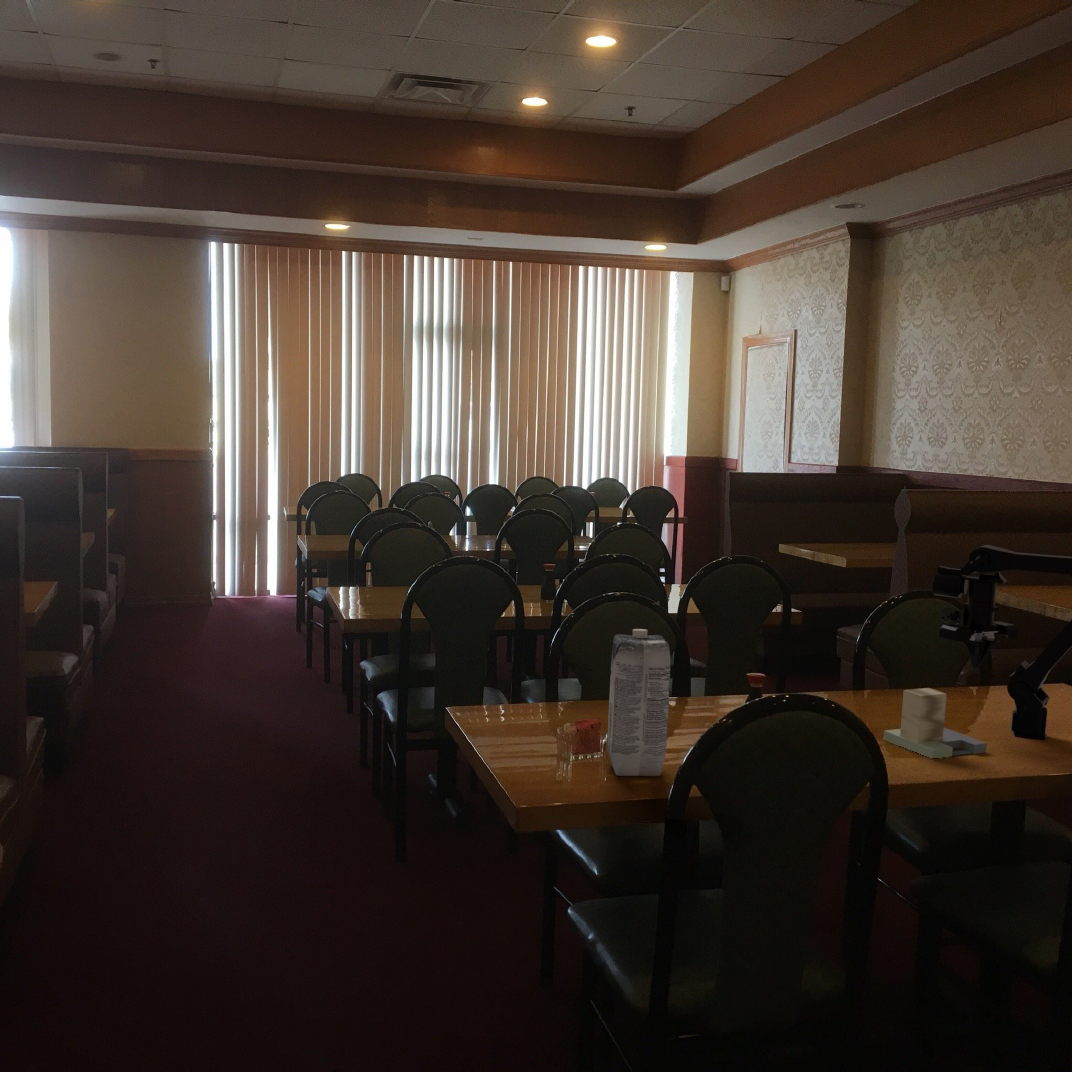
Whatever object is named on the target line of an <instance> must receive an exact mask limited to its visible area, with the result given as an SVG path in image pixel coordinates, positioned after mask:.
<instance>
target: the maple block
mask: <svg viewBox="0 0 1072 1072" xmlns="http://www.w3.org/2000/svg"><path fill="white" fill-rule="evenodd" d="M902 693H903V695H902V707H901V719H900V720H901V721H900V729H901V731H900V737H903V738H905V739H908V740H910V741H913V742H915V743H924V742H932V741H941V740H943V732H944V728H945V720H946V719H945V717H946V706H947V705H946V704H947V693H945V692H942V691H940V690H937V689H934V688H930V687H924V688H913V689H912V688H911V689H903V692H902Z"/></svg>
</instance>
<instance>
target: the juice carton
mask: <svg viewBox="0 0 1072 1072" xmlns="http://www.w3.org/2000/svg"><path fill="white" fill-rule="evenodd" d="M610 661H611V662H610V679H609V681H610V682H609V701H608V722H607V753H608V759H609V761H610V765H611V767H612V769H613V771H614V773H615V776H617V777H618V776H619V777H660V776H661V774H662V771H663V768H664V765H665V764H664V763H665V759H666V753H667V739H668V738H667V737H668V720H669V719H668V718H669V705H670V704H669V703H670V700H669V699H670V681H671V645H670V644H669V642H668V641H667V640H666V639H664V637H663V636H662V635H659V634H656V635H655V634H653V635H648V629H643V628H634V629H632V635H630V634H621V633H619V634H615V635H614V637H613V641H612V652H611V659H610Z"/></svg>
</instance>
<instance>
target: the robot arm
mask: <svg viewBox="0 0 1072 1072" xmlns="http://www.w3.org/2000/svg"><path fill="white" fill-rule="evenodd" d="M936 569H937V570H936V574H935V576H934V580H933V581H932V594H933V595H934V596H939V597H940V596H941V597H945V598H946V597H947V598H957V599H961V598H962V596H963V595H968V596H967V603H965V602H964V603H963V604H962V606H961V607H962V608H961V609H958V610H955V609H954V608H953V607H943V608H942V609H941V614H940V615H941V622H943V623H946V624H942V625H941V626H940V627H939V631H938V632H939V633H938V637H940V638H943V639H946V640H950V641H954V642H962V643H963V644H964V645H965V647H966V649H967V653H968V656H969V660H970V663H971V666H972V669H980V667H981V665H982V664H983V662H984V661H985V659H986V658H987V657H988V654H989V653H990V652H991V650H993V648H994V647H995V645H996V644H997V643H999V642H1000V640H999V639H998V638H995V635H1004V636H1005V637H1006V638H1007V639H1016V638H1018V633H1019V629H1018V628H1017V626H1016V624H1012V623H1008V622H1005V621H1000V620H999V621H994V620H995V619H994V617H995V613H996V612H999V609H1000V607H999V606H995V605H996V596H997V585H998V584H1000V585H1002V584H1005V583H1007V582H1008V580H1007V579H1006V578H1005V577H1004V576H1003V575H1002V573H1001V572H1002V571H1003V572H1004V571H1013V570H1014V571H1026V572H1027V571H1028V572H1036V573H1037V572H1039V573H1048V574H1061V575H1069V576H1070V577H1071V578H1072V556H1068V555H1067V556H1065V555H1054V554H1053V555H1052V554H1042V553H1041V554H1039V553H1028V552H1017V551H1013V550H1010V549H1007V548H1003V547H1000V546H999V547H998V546H994V545H991V544H985V545H982V546H979V547H976V548H974V549H973V550H971V552H970V553H969V558H968V562H967V563H965V564H964V566H962V567H961V568H953V567H947V566H941V565H939V566H938V567H937V568H936ZM993 572H994V573H995V572H996V573H995V574H990V573H993ZM975 573H980V574H979V576H971V575H973V574H975ZM967 593H968V594H967ZM1071 648H1072V619H1071V620H1070V621H1069V622H1067V624H1066V625H1065V626H1064V627H1063V629H1062V630H1061V631H1060V632H1059V633H1058V634H1057V635H1056V636H1055V638H1053V640H1052V641H1051V642H1050V643H1049V644H1048V645H1047V647H1046V648H1045V649H1044V650H1043V651H1042V652H1041V653H1040V654H1039V656H1037V658H1036V659H1034V660H1033V661H1032V662H1031V663H1029V662H1028V661H1027V660H1023V662H1021V663H1020V664H1019V665H1018V667H1017V668H1016V670H1015V671H1014V672H1013V673H1011V674H1010V675H1009V676H1008V677H1007V679H1009V681H1008V683H1007V685H1006V688H1007V694H1008V695H1009V696H1010V698H1012V700H1013V701H1014V705H1015V708H1014V709H1015V710H1014V709H1013V710H1012V712H1011V719H1010V720H1011V723H1010V730H1011V732H1012V733H1013V736H1016V737H1022V738H1031V739H1032V738H1033V739H1038V740H1040V739H1041V740H1047V736H1046V735H1047V734H1046V731H1047V728H1046V727H1047V718H1048V709H1047V707H1046V706H1047V704H1048V703H1049V701H1050V696H1049V695H1048V694H1047V692H1046V691H1045V690H1044V689H1043V688H1042V686H1043V684H1044V682H1045V681H1046V679H1047V677H1048V675H1049V673H1050V672H1051V670H1052V669H1053V668H1054V667H1055V665H1057V663H1058V662H1059V661H1060V660H1061V659H1062V658H1063V657H1064V656H1065V654H1066V653H1067V652H1068V651H1069V650H1070V649H1071Z"/></svg>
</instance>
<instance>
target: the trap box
mask: <svg viewBox="0 0 1072 1072" xmlns="http://www.w3.org/2000/svg"><path fill="white" fill-rule="evenodd" d="M900 731H901V728H897V729H887V730H883V737H882V738H883V741H885V742H888V743H890V744H893V745H895V746H898V747H900V746H901V748H903V747H904V748H903V749H905V748H907V749H908V751H910V750H911V751H910V752H912V751H914V752H913V753H915V752H917V753H919V754H918V755H920V754H921V755H920V756H922V755H924V756H923V757H925V756H927V757H930V758H939V759H943V758H942V757H946V758H953V757H952V756H954V757H961V756H960V755H962V756H967V755H966V754H970V755H977V754H984V753H986V752H987V747H988V746H987V745H988V743H987V742H985V741H982V740H979V739H976V738H974V737H971V736H968V735H966V734H963V733H961V732H957V731H955V730H952V729H949V728H946V727H944V732H943V740H941V741H932V742H924V743H915V742H913V741H910V740H908V739H905V738H903V737H900ZM907 749H906V750H907ZM917 753H916V754H917ZM950 756H951V757H950ZM927 757H926V758H927ZM930 758H929V759H930Z"/></svg>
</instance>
